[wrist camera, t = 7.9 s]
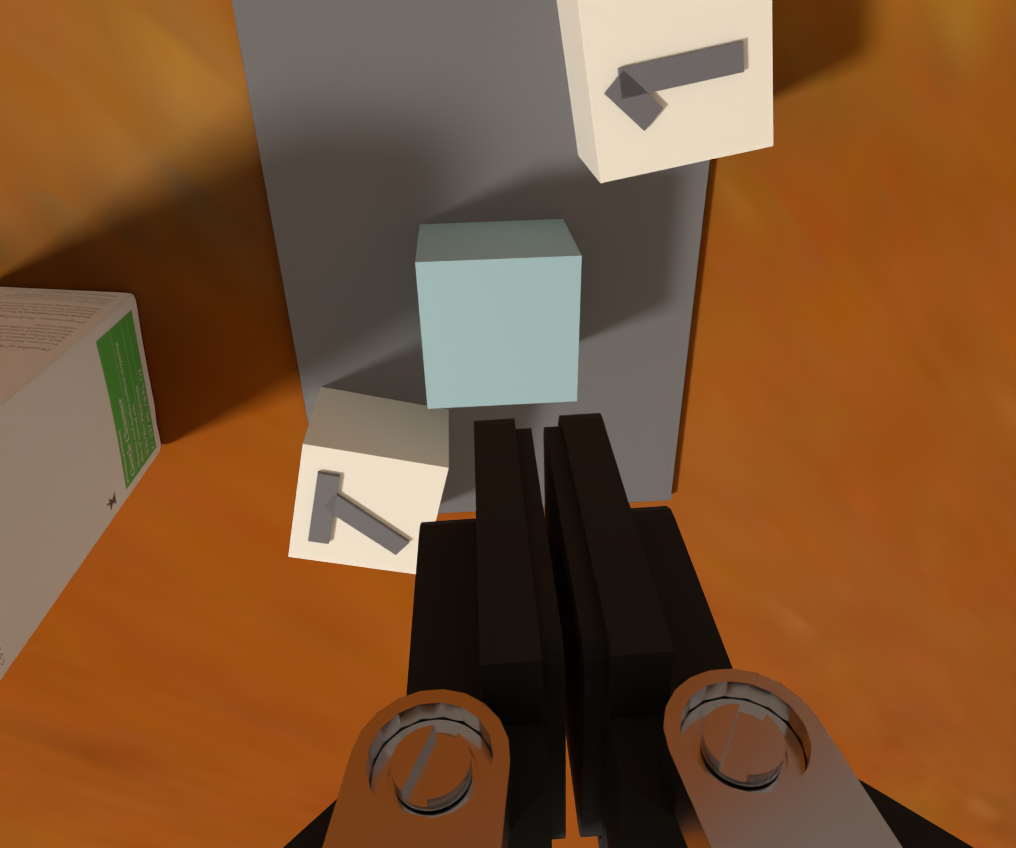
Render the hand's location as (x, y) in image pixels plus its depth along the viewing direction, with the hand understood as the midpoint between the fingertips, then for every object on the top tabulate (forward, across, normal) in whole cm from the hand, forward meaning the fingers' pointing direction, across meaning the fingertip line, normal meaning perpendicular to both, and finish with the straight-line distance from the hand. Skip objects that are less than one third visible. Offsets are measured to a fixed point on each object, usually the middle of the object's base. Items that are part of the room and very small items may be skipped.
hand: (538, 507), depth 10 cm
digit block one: (+23, -6, -3) cm, 24 cm away
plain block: (+23, 0, +6) cm, 23 cm away
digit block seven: (+22, +6, +14) cm, 27 cm away
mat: (+23, 0, +6) cm, 24 cm away
